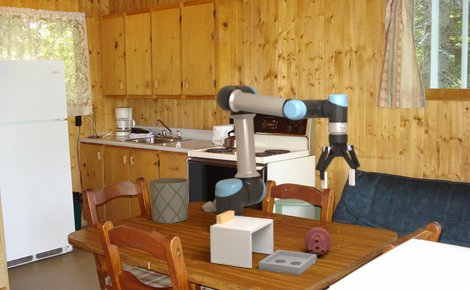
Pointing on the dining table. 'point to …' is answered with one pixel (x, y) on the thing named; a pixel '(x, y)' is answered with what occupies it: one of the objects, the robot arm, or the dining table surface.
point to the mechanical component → (317, 240)
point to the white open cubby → (240, 239)
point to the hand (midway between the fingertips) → (338, 186)
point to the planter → (169, 199)
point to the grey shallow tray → (288, 262)
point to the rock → (209, 206)
